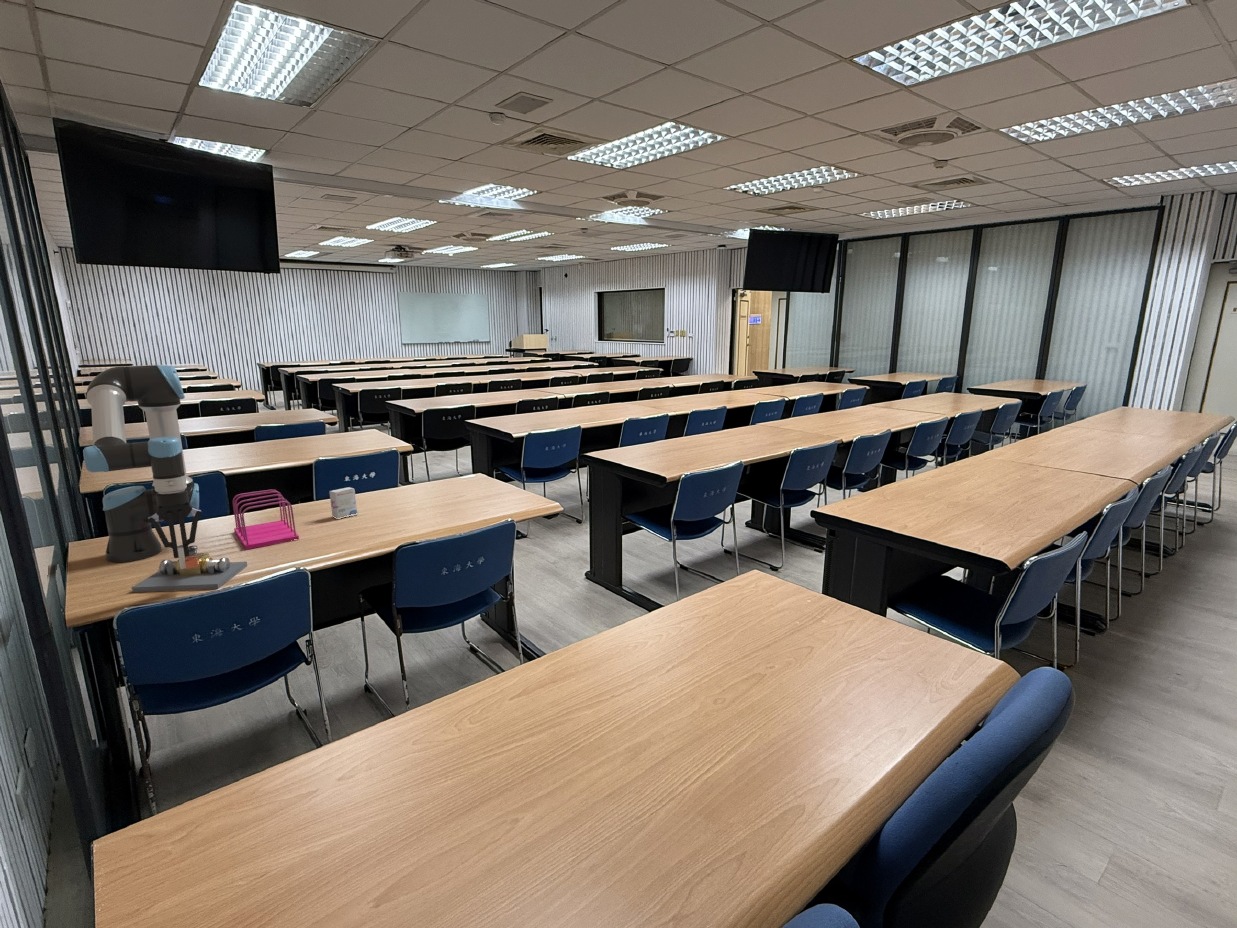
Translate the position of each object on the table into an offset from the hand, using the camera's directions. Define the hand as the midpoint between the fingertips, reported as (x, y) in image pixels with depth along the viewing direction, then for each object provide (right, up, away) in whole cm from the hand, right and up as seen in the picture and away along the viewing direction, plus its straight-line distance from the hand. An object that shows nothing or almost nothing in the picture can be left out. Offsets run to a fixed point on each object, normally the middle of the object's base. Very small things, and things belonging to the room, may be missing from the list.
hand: (183, 567), depth 180 cm
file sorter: (-4, +3, +49) cm, 49 cm away
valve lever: (-1, +1, +6) cm, 6 cm away
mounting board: (-4, -5, +10) cm, 12 cm away
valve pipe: (-4, -5, +12) cm, 13 cm away
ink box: (+15, +9, +73) cm, 75 cm away
